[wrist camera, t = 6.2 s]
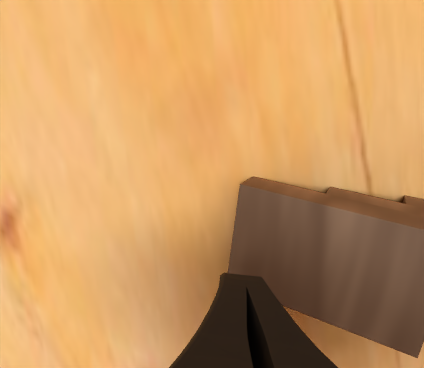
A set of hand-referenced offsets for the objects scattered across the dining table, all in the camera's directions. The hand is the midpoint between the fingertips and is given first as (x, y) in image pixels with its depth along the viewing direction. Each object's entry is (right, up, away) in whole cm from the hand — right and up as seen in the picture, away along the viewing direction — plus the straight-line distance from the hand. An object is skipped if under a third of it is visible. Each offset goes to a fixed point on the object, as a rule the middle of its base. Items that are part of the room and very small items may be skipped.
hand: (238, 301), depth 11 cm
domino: (0, +2, +5) cm, 5 cm away
